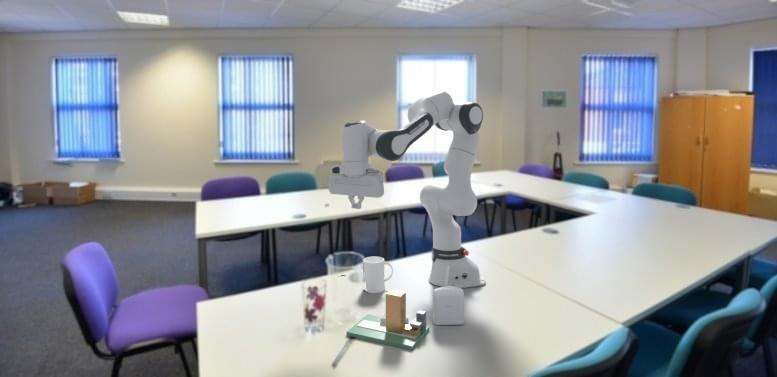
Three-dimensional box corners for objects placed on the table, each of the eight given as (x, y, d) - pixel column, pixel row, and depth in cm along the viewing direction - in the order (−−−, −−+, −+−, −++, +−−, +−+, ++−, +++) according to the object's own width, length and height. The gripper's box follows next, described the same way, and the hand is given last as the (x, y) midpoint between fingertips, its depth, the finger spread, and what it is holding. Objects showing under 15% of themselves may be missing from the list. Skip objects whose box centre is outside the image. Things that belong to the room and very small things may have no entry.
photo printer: (433, 326, 156) (433, 289, 154) (431, 320, 160) (432, 284, 158) (464, 326, 156) (465, 289, 154) (463, 320, 160) (463, 284, 158)
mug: (391, 284, 193) (391, 255, 191) (395, 292, 185) (394, 261, 183) (362, 285, 191) (361, 256, 189) (364, 294, 183) (363, 263, 181)
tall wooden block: (385, 330, 150) (385, 293, 148) (391, 325, 153) (391, 289, 151) (415, 336, 145) (415, 299, 143) (420, 331, 149) (420, 294, 147)
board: (346, 335, 150) (346, 315, 149) (367, 317, 163) (367, 299, 162) (412, 350, 141) (412, 329, 140) (429, 330, 153) (429, 311, 152)
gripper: (387, 169, 164) (387, 209, 166) (335, 166, 172) (336, 204, 175) (378, 171, 158) (379, 212, 160) (325, 168, 167) (326, 207, 169)
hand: (356, 208), depth 168 cm, fingers closed
